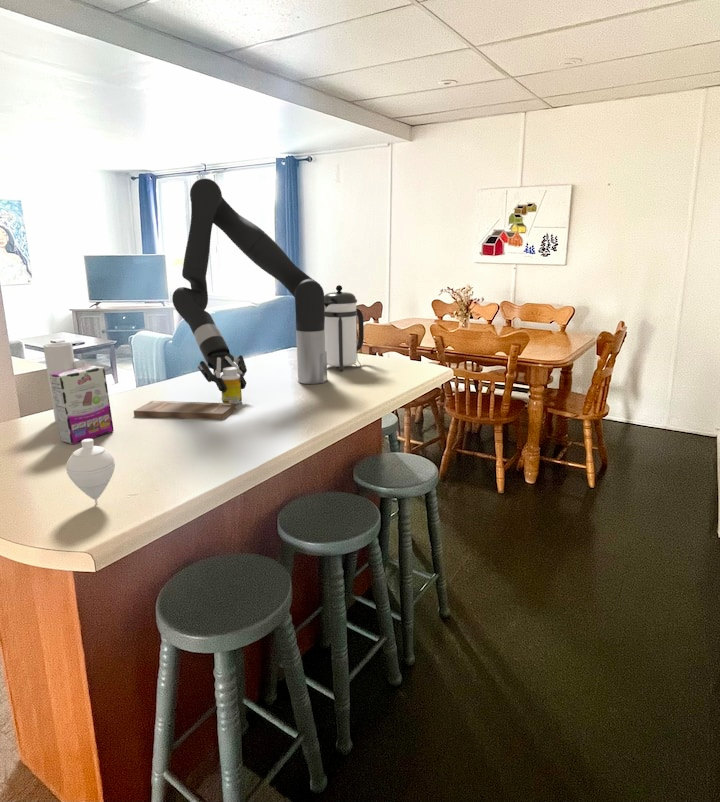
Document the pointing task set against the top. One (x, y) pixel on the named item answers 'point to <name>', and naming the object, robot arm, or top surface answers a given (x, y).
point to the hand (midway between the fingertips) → (234, 389)
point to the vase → (60, 362)
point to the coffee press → (342, 328)
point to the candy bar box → (81, 403)
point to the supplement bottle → (231, 386)
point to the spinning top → (91, 468)
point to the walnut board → (185, 410)
